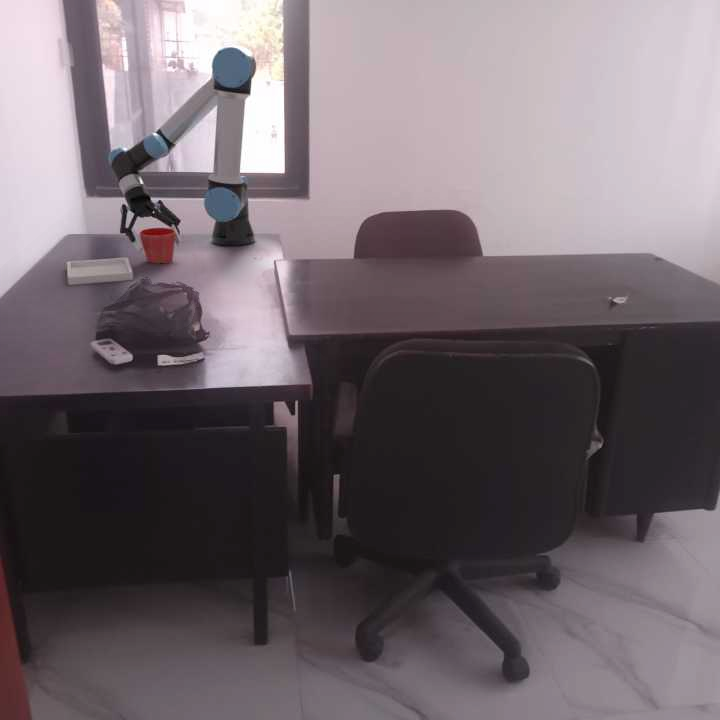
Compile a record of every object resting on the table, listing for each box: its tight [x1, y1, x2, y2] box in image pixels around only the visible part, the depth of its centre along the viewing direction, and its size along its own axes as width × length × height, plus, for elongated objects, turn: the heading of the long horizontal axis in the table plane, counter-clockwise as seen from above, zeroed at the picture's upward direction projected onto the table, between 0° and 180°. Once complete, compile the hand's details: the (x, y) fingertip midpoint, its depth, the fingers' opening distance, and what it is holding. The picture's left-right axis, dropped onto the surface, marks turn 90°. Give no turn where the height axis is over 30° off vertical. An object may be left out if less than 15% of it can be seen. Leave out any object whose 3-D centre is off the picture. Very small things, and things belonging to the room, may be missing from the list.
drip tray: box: [66, 257, 134, 286], centre depth 225 cm, size 18×18×2 cm
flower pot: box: [139, 227, 176, 264], centre depth 238 cm, size 11×11×10 cm
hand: (160, 246), depth 237 cm, fingers open, 13 cm apart
